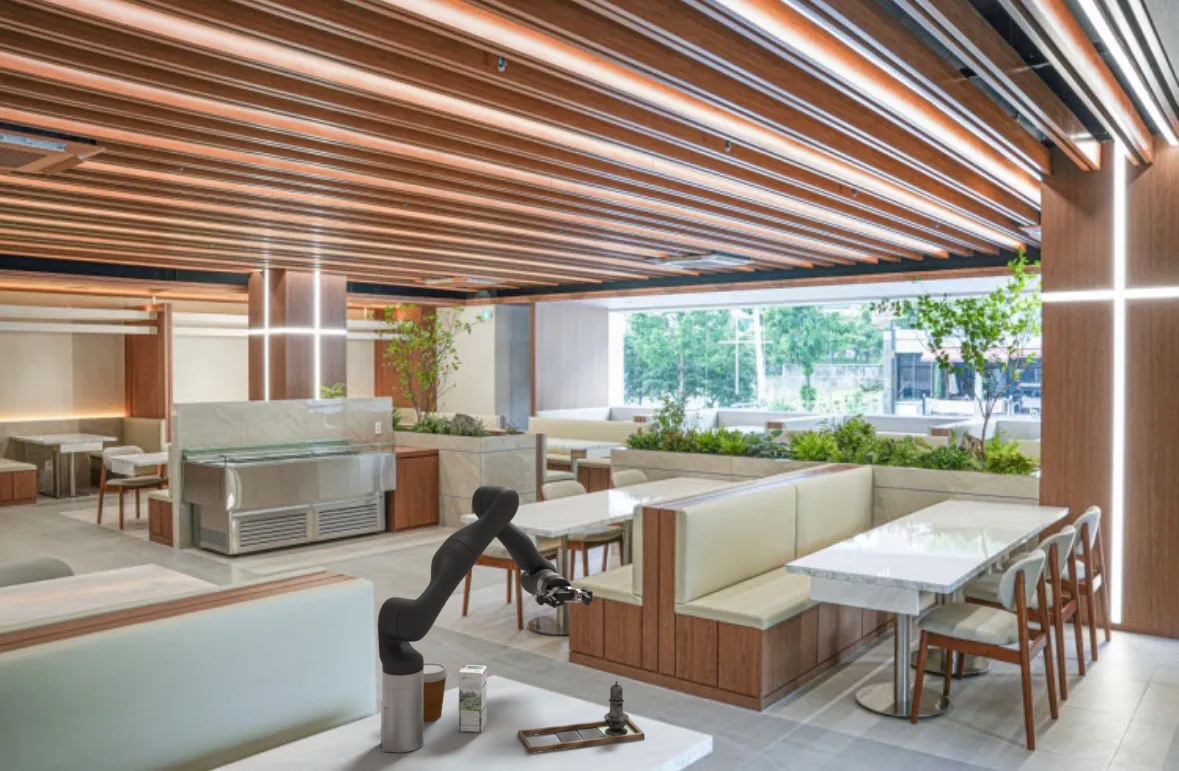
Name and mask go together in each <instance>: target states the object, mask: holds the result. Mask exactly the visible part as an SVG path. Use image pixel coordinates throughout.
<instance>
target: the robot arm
mask: <svg viewBox="0 0 1179 771" xmlns="http://www.w3.org/2000/svg"><path fill="white" fill-rule="evenodd" d="M471 505H472V506H471V508H472V511H473V512H474V515H475V516H476V518H477V520H475V521H474V522H472V523H470V524H468V525H465V526H464V527H462V528H460V529H458V530H457V531H455V532H454V533H451V535H450V536H448V537H447V538H446V539H445V541H444V542H443V543H442V544H441V545H440V546H439V548H438V549H437V550H436V552H435V553H434V554H433V557H432V560H431V563H430V581H429V583H428V585H427V587H426V588H425V589H424V591H423V592H422V593H421V595H420V596H418V597H417V598H416V599H413V598H405V597H397V596H393V597H389V598H387V599H386V600H385V601H384V602H383V604H382V605H381V607H380V609H379V613H378V618H377V636H378V637H377V640H378V642H377V643H378V656H379V660H380V663H381V665H382V666H381V668H382V670H381V672H382V674H381V675H382V680H381V681H382V683H381V684H382V688H381V689H382V690H381V696H382V697H381V698H382V699H381V702H380V705H381V706H380V708H381V709H380V712H381V713H380V733H381V734H380V742H381V747H382V748H381V749H382V751H383V752H385V753H386V752H390V753H408V752H412V751H416V750H417V749H420V748H422V746H423V745H424V738H425V737H424V721H423V714H424V663H425V662H424V661H425V660H424V656H423V654H422V653H421V652H419V651H418V650H417V649H415V648H414V647H413V646H412V644H411V643H414V642H418V641H420V640H422V639H423V638H424V637H425V636H427V634H428V633H429V631H430V630H431V629H432V627H433V625H434V624H435V622H436V620H437V618H438V617H439V616H440V613H441V612H442V610H443V608H444V606H445V605H446V603H447V601H448V600H449V599H450V598H451V596H452V594H453V593H454V591H455V590H457V587H458V586H459V584H460V583H461V582H462V581H463V579H464V578H465V577H466V576H467V574H468V573H469V572H470V570H471V569H472V568H473V567H474V565H475V564H476V562H477V561H478V560H479V558H480V557H481V555H482V554H483V552H485V550H486V549H487V548H488V547H489V545H490V544H491V543H492V541H493V540H494V539H495V538H497V540H498V541H499V542H500V543H501V544H502V546H503V547H504V548H505V549H506V551H507V552H508V553H509V555H510V557H511V558H512V560H513V562H514V563H515V565H516V567H518V569H519V570H521V571H523V572H522V573H521V574H520V578H519V583H520V585H521V586H522V588H523V590H524V591H525V592H527V593H528V594H530V595H534V601H535V602H536V603H537V604H538V605H539V606H544V604H545V605H546V606H549V607H552V609H557V607H562V606H564V605H566V604H567V603H572V604H579V603H581V604H584V605H585V606H589V605H590V604H591V603H592V602H593V600H594V598H593V593H594V591H592V590H591V589H589V588H587V587H585V586H582V587H581V589H580V588H574V587H572V585H571V582H569V580H567V579H566V578H565V577H563V576H562V575H560V574H559V573H558V572H557V568H556V567H555V565H554V564H553V563H552V561H550V560H549V559H547V558H546V557H544V556H543V555H542V554H541V553H540V551H539V550H538V549H537V547H536V546H535V544H534V542H533V540H532V539H531V538H530V536H529V535H527V533H526V532H524V531H523V530H522V529H521V528H520V527H518V526H516V525H515V524H514V523H512V522H511V521H512V520H513V518H514V517H515V516H516V514H517V512H518V510H519V507H520V506H519V505H520V495H519V493H518V491H517V490H515V489H514V488H511V487H508V486H503V485H502V486H501V485H481V486H479V487H477V489H476V490H475V491H474V493H473V495H472V498H471Z"/></svg>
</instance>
